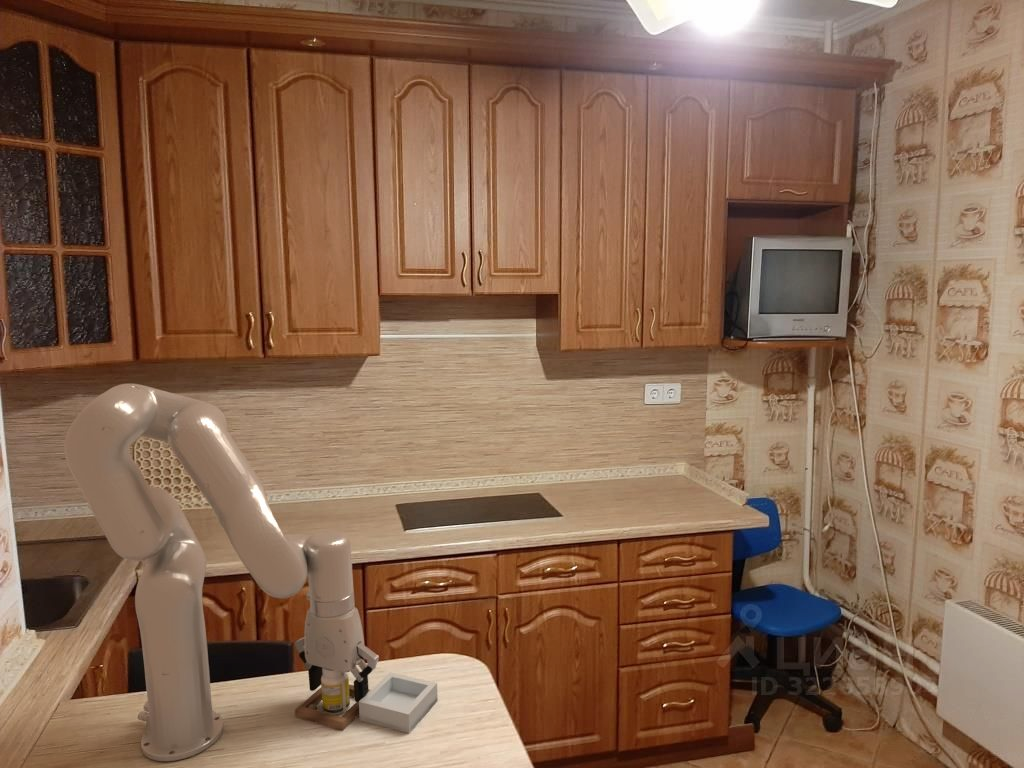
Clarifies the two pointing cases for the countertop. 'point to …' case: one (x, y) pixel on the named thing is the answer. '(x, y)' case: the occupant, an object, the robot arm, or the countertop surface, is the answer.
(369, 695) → the grey square open box
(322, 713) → the tray
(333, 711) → the supplement bottle
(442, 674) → the countertop surface
